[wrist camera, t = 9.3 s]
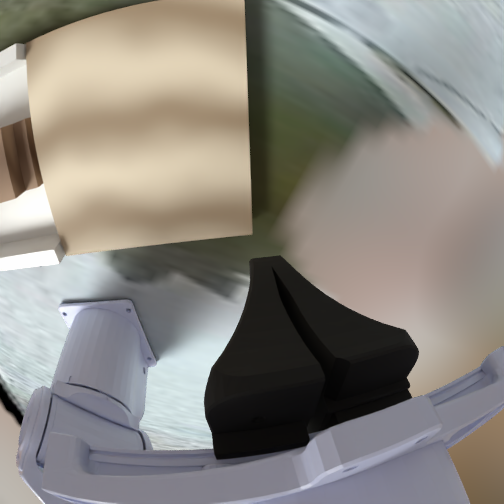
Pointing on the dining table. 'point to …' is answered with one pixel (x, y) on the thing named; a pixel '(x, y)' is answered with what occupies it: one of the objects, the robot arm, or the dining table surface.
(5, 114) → the tray
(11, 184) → the tile
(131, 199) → the board
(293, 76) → the dining table surface
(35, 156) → the tile
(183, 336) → the dining table surface
